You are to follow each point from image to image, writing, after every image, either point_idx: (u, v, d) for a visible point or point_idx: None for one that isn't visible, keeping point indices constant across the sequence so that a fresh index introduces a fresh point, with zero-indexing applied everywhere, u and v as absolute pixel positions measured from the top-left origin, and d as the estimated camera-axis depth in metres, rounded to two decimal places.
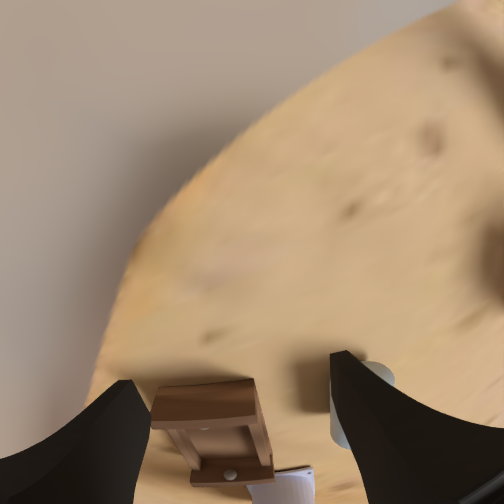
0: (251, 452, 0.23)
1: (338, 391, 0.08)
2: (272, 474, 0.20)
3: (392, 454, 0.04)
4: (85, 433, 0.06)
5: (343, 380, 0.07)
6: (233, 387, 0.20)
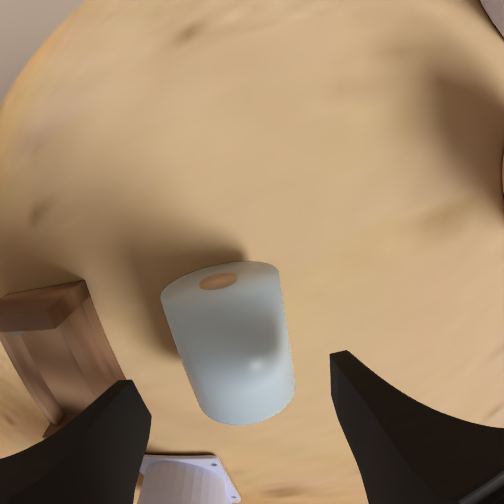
0: None
1: (338, 391, 0.08)
2: None
3: (392, 454, 0.04)
4: (84, 433, 0.06)
5: (343, 380, 0.07)
6: (58, 288, 0.14)
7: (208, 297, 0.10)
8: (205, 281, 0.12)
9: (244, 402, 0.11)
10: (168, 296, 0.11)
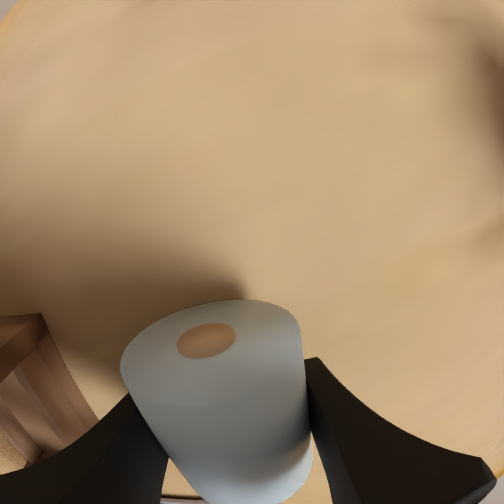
0: None
1: None
2: None
3: (343, 471, 0.04)
4: (113, 436, 0.06)
5: (308, 388, 0.07)
6: (12, 322, 0.09)
7: (189, 377, 0.06)
8: (186, 338, 0.07)
9: (246, 495, 0.06)
10: (130, 363, 0.07)
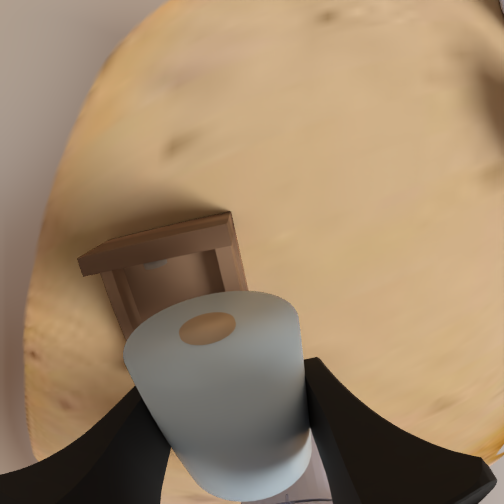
0: None
1: (307, 398, 0.08)
2: None
3: (344, 470, 0.04)
4: (112, 436, 0.06)
5: (308, 388, 0.07)
6: (202, 219, 0.16)
7: (186, 361, 0.06)
8: (188, 325, 0.08)
9: (239, 485, 0.07)
10: (134, 347, 0.07)
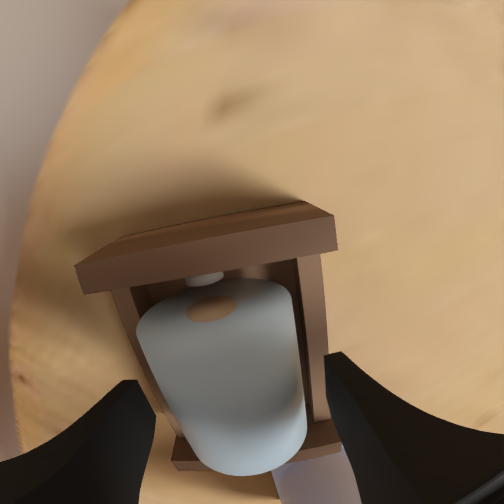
0: None
1: (332, 393, 0.08)
2: (337, 434, 0.11)
3: (383, 458, 0.04)
4: (90, 433, 0.06)
5: (336, 382, 0.07)
6: (267, 210, 0.11)
7: (193, 335, 0.08)
8: (194, 307, 0.09)
9: (239, 457, 0.08)
10: (146, 326, 0.08)
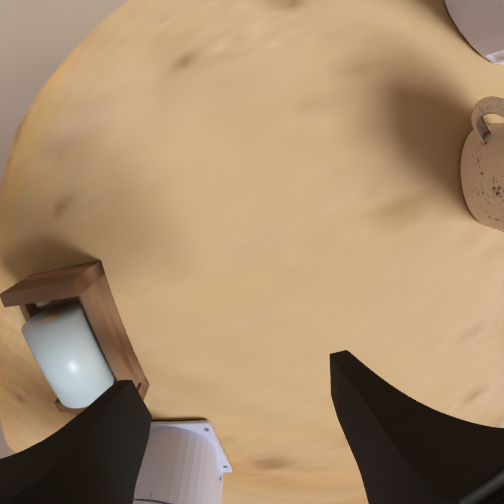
0: None
1: (338, 391, 0.08)
2: None
3: (392, 455, 0.04)
4: (84, 433, 0.06)
5: (343, 380, 0.07)
6: (78, 267, 0.17)
7: (37, 327, 0.14)
8: (45, 316, 0.15)
9: (66, 392, 0.14)
10: (26, 324, 0.15)
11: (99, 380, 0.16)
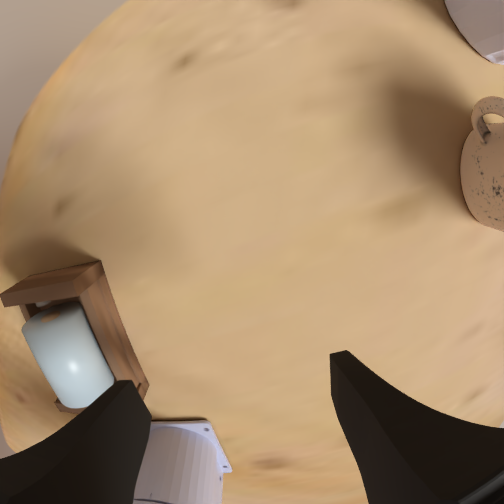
0: None
1: (338, 391, 0.08)
2: None
3: (392, 454, 0.04)
4: (84, 433, 0.06)
5: (343, 380, 0.07)
6: (78, 267, 0.17)
7: (38, 327, 0.14)
8: (45, 316, 0.15)
9: (66, 392, 0.14)
10: (26, 324, 0.15)
11: (99, 380, 0.16)
